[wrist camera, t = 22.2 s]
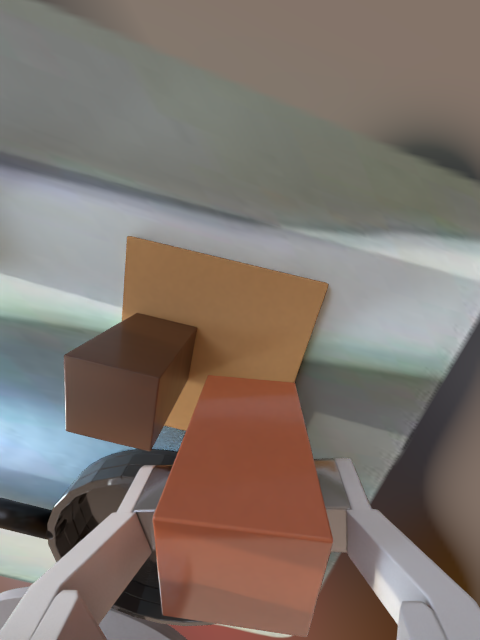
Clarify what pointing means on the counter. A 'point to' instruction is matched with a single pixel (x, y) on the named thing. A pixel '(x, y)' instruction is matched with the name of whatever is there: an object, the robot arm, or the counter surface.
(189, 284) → the mat
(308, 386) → the counter surface
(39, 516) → the pan handle
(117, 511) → the robot arm
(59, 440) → the counter surface
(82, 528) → the pan
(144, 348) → the walnut block
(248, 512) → the terracotta block
